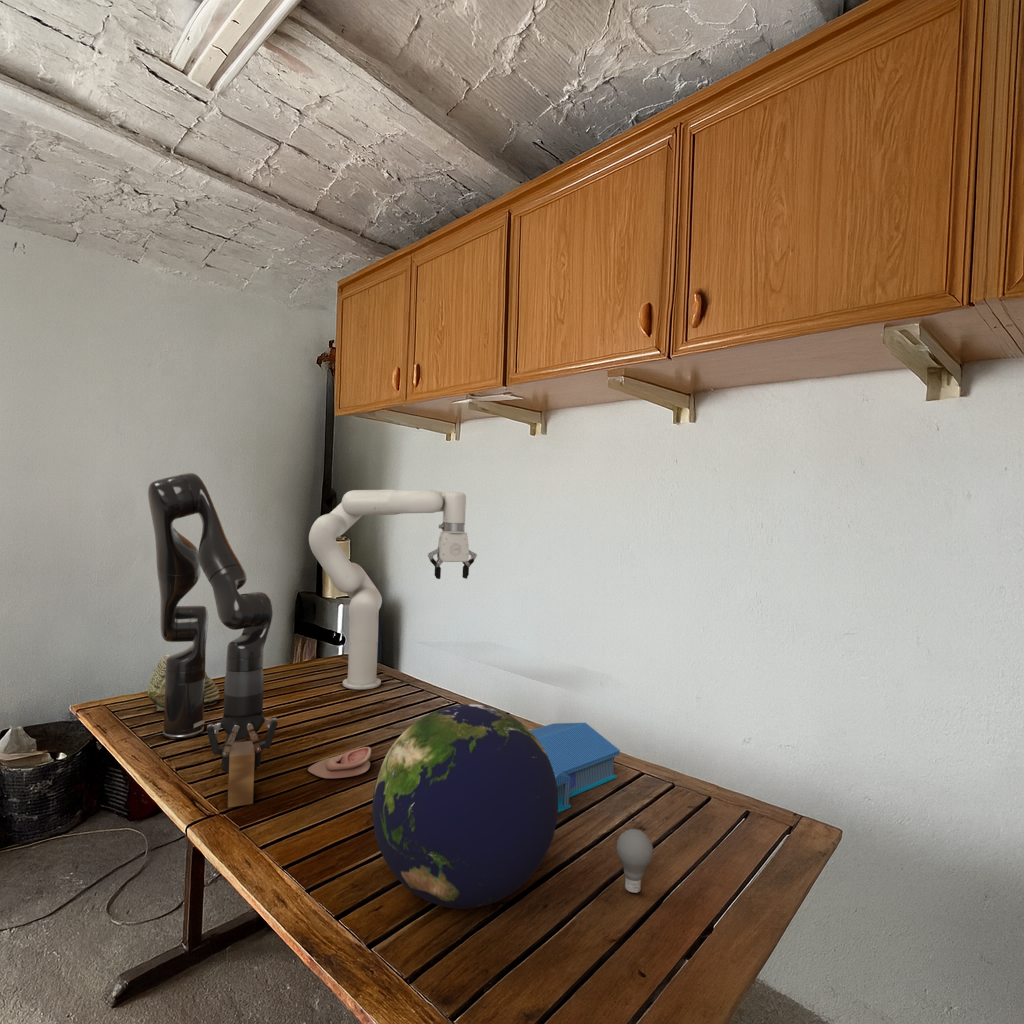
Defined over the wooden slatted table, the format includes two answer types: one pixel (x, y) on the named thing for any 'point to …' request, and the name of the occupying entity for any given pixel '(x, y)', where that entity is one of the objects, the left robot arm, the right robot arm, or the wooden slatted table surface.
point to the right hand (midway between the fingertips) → (451, 578)
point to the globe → (465, 806)
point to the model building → (576, 758)
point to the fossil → (158, 687)
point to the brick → (241, 774)
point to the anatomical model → (343, 764)
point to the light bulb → (634, 857)
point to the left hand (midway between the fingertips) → (241, 770)
